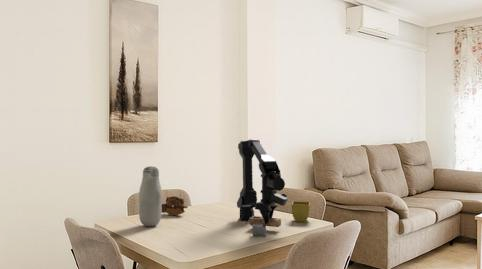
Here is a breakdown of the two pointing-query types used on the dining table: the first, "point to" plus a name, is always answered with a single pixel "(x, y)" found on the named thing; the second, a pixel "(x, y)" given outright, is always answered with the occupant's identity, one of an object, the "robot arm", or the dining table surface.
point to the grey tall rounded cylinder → (150, 197)
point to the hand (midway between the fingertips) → (268, 222)
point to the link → (258, 220)
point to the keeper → (259, 230)
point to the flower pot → (300, 210)
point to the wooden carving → (174, 206)
